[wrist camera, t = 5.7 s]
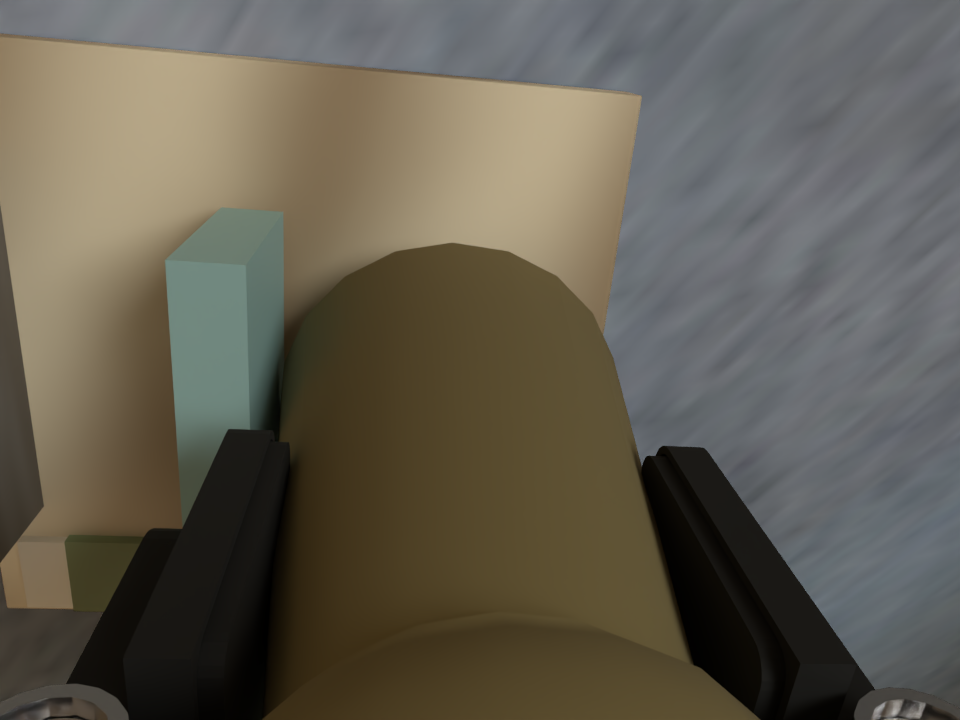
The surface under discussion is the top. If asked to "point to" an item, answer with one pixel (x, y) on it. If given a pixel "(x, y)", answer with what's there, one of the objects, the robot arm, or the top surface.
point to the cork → (468, 511)
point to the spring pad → (225, 335)
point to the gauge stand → (243, 185)
